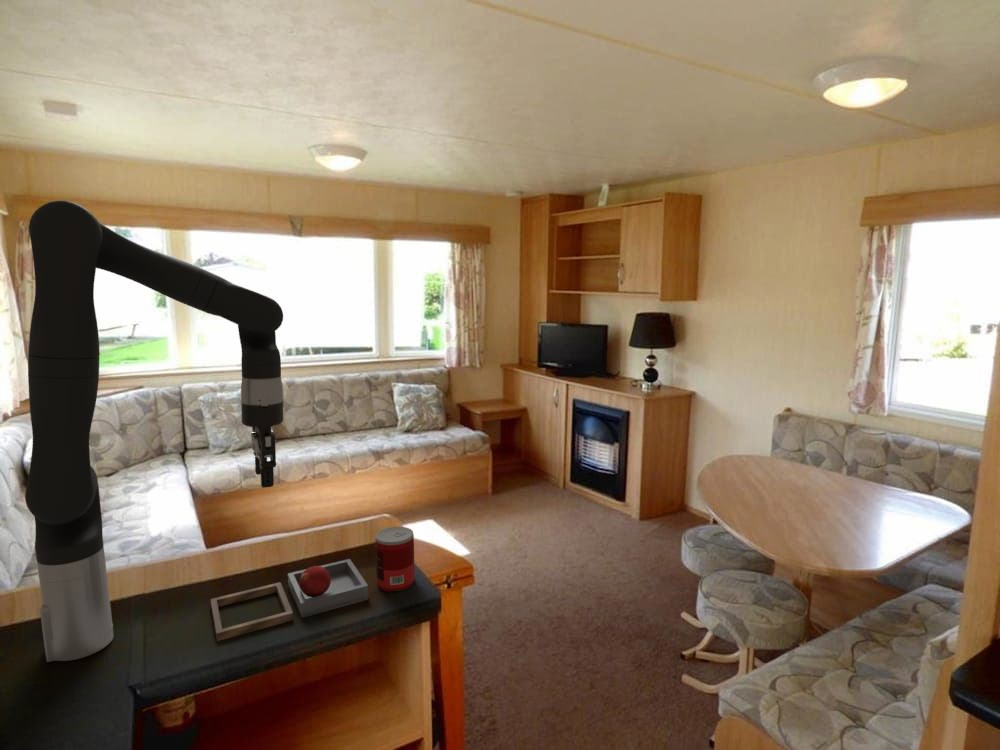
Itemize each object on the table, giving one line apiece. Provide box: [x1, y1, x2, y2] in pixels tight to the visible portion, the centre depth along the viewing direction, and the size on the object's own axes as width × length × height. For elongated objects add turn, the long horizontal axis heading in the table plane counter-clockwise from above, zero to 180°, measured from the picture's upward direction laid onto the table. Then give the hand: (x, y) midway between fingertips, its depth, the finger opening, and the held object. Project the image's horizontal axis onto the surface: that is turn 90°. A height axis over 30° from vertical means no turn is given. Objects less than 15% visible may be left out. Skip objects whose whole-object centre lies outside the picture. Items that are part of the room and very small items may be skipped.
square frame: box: [210, 581, 294, 642], centre depth 112 cm, size 13×13×2 cm
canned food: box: [374, 526, 415, 592], centre depth 123 cm, size 8×8×11 cm
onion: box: [299, 565, 331, 597], centre depth 115 cm, size 6×6×8 cm
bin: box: [287, 558, 370, 618], centre depth 119 cm, size 13×13×3 cm
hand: (264, 480), depth 116 cm, fingers open, 8 cm apart
